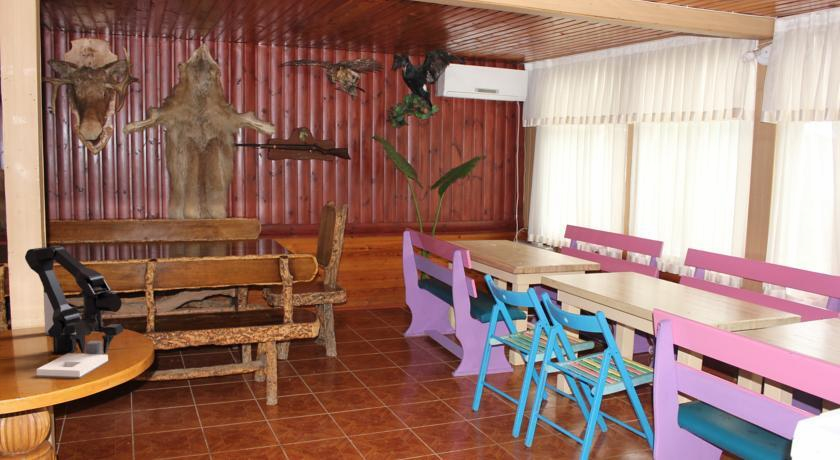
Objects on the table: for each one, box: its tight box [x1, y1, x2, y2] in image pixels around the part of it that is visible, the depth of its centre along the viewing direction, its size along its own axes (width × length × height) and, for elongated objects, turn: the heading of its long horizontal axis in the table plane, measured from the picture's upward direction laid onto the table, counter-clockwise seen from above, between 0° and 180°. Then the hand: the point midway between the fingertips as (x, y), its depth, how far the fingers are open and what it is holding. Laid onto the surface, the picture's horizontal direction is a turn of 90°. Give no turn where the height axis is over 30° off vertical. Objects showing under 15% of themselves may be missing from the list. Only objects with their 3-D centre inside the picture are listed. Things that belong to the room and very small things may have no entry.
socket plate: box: [36, 352, 109, 379], centre depth 233 cm, size 14×18×2 cm
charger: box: [84, 340, 104, 355], centre depth 248 cm, size 4×4×5 cm
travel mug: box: [43, 283, 63, 336], centre depth 276 cm, size 6×7×20 cm
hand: (94, 353), depth 248 cm, fingers open, 8 cm apart
